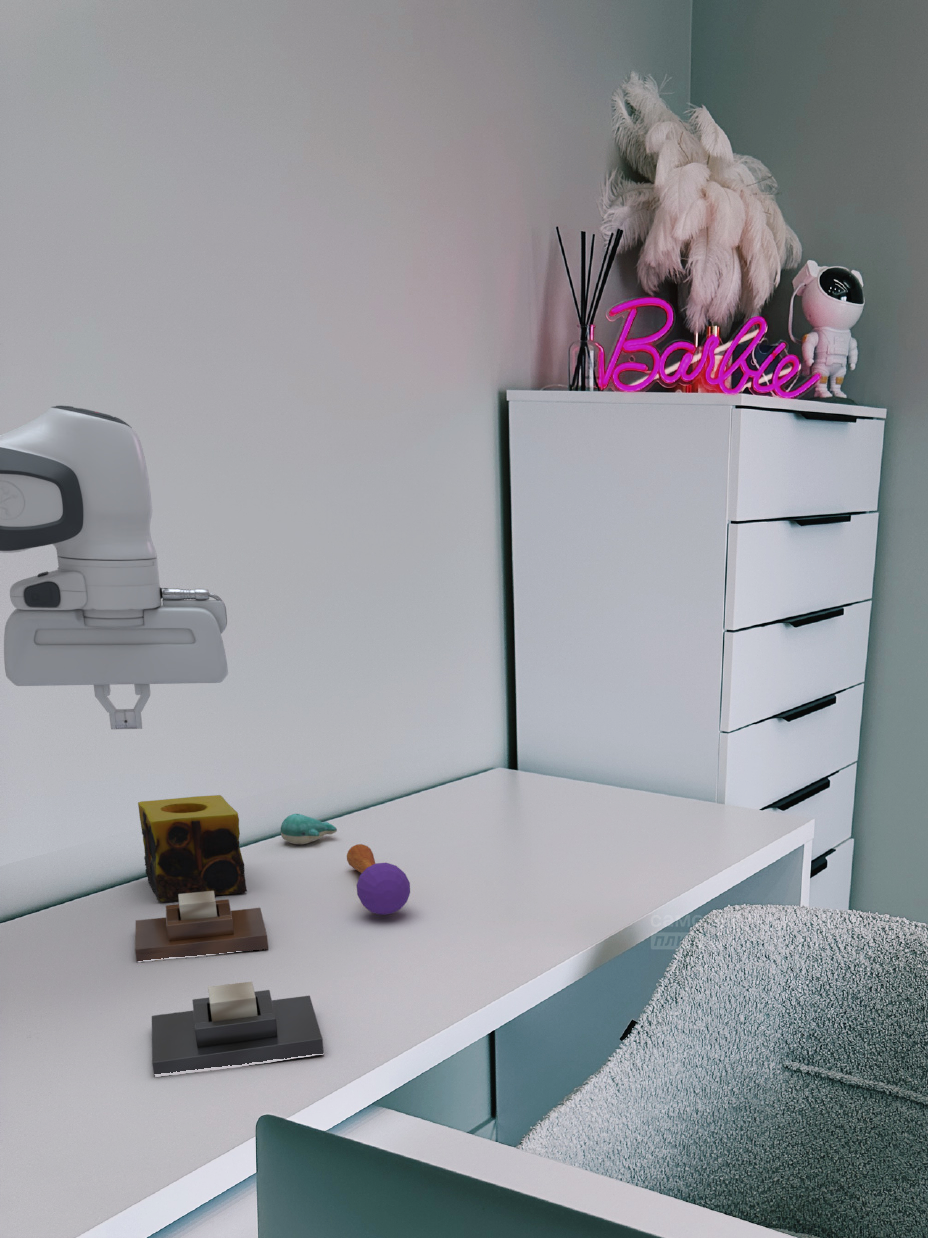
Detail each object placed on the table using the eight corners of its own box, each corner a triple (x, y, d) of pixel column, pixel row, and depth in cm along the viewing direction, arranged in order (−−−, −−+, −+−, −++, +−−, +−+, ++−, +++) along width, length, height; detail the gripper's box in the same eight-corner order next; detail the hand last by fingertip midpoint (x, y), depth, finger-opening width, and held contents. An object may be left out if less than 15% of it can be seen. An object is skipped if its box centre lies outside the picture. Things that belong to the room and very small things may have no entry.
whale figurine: (274, 838, 171) (272, 811, 170) (325, 830, 176) (324, 804, 174) (291, 849, 167) (289, 821, 166) (343, 841, 172) (341, 814, 170)
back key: (181, 923, 133) (179, 904, 132) (180, 911, 136) (178, 894, 135) (217, 919, 134) (215, 901, 133) (215, 908, 137) (213, 890, 136)
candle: (248, 894, 151) (241, 814, 147) (158, 904, 146) (149, 822, 142) (230, 869, 159) (224, 793, 155) (145, 879, 154) (136, 800, 150)
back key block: (137, 964, 130) (132, 933, 128) (137, 934, 137) (133, 904, 136) (268, 949, 134) (265, 919, 133) (261, 921, 142) (258, 892, 141)
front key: (212, 1024, 110) (209, 1003, 109) (210, 1007, 113) (207, 986, 112) (257, 1018, 111) (255, 997, 111) (254, 1001, 115) (252, 981, 114)
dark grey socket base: (154, 1080, 107) (149, 1043, 105) (153, 1032, 115) (148, 997, 114) (324, 1055, 112) (320, 1020, 110) (311, 1011, 120) (308, 977, 119)
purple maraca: (386, 836, 160) (418, 872, 143) (380, 881, 161) (410, 922, 144) (339, 831, 158) (365, 866, 140) (333, 877, 159) (358, 917, 141)
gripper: (222, 585, 129) (233, 719, 133) (-2, 583, 121) (18, 724, 126) (226, 592, 123) (237, 731, 128) (-9, 590, 116) (12, 737, 120)
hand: (126, 728), depth 127 cm, fingers closed
